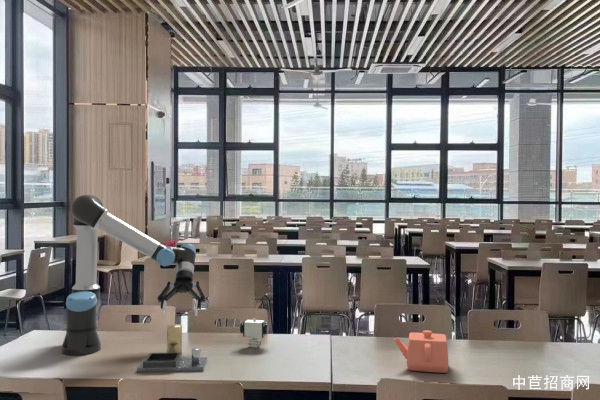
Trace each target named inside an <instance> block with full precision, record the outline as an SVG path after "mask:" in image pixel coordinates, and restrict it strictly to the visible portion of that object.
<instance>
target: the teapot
mask: <svg viewBox="0 0 600 400" xmlns="http://www.w3.org/2000/svg"><path fill="white" fill-rule="evenodd" d="M408 335H409V336H408V341H407V345H406V344H405V343H404V342H403V341H402V340H401V339H400V337H397V338H393V341H394V343H395V344H396V346H397V347H398V348H399V351H400V352H401V353H402V356H403V357H404V359H405V360H406V366H407V370H408V371H413V372H424V373H441V374H443V373H444V374H447V373H448V370H449V348H448V342H447V335H446V334H443V333H433V331H432V330H428V329H427V330H426V329H425V330H422V332H412V331H411V332H409V334H408Z"/></svg>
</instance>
